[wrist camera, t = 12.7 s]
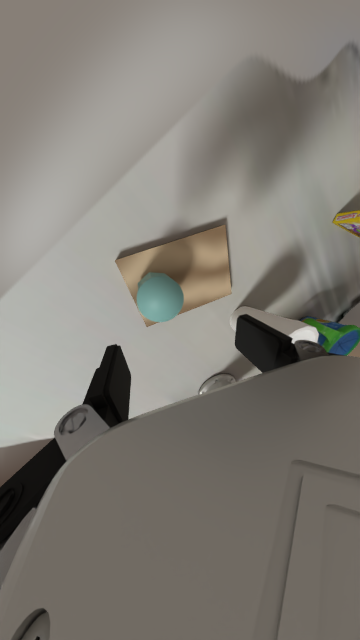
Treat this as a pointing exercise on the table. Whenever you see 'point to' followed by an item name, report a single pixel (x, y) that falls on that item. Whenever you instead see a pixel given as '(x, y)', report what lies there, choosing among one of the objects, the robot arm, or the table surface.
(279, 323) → the foam cup
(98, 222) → the table surface
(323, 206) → the table surface
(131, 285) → the board
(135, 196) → the table surface
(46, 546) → the robot arm
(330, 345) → the snack cup
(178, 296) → the cap
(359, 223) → the candy box
